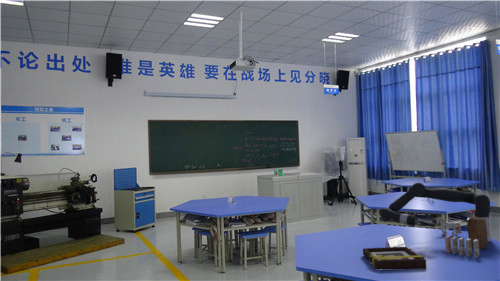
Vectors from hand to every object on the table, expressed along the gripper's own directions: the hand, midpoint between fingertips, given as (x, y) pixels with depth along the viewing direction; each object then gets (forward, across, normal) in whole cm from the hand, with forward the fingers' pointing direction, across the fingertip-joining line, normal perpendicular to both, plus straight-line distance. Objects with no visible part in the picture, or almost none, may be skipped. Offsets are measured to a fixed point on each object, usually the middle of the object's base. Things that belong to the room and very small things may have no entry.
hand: (434, 225), depth 238 cm
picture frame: (-11, -38, +21) cm, 44 cm away
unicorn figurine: (-3, +45, +14) cm, 48 cm away
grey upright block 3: (+17, +1, +14) cm, 23 cm away
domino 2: (+13, +1, +15) cm, 20 cm away
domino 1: (+9, +2, +15) cm, 18 cm away
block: (+21, +22, +13) cm, 33 cm away
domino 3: (+21, +1, +14) cm, 26 cm away
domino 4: (+25, +1, +14) cm, 29 cm away
